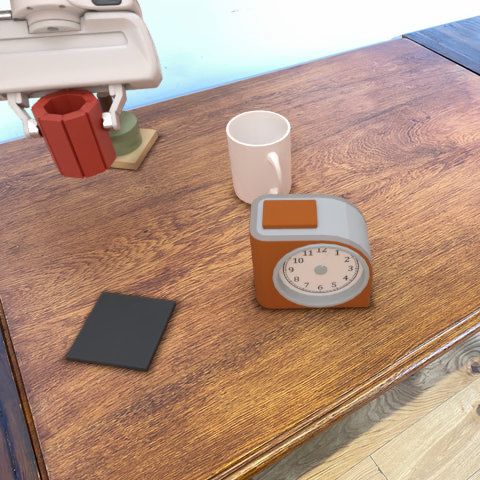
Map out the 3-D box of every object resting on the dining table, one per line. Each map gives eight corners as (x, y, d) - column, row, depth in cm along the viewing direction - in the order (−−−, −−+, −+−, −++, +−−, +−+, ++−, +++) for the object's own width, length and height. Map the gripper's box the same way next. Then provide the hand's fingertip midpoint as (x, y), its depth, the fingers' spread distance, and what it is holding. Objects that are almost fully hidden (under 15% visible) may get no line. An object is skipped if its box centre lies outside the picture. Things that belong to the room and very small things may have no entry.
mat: (66, 359, 61) (65, 357, 61) (103, 294, 68) (102, 291, 68) (147, 371, 60) (146, 368, 60) (176, 304, 67) (175, 301, 67)
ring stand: (80, 163, 87) (58, 106, 79) (106, 131, 94) (88, 75, 86) (137, 170, 86) (120, 113, 79) (158, 136, 93) (145, 81, 86)
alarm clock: (255, 311, 66) (246, 238, 57) (258, 262, 72) (251, 189, 63) (368, 309, 67) (379, 236, 57) (362, 260, 73) (371, 187, 63)
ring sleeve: (46, 175, 58) (20, 117, 53) (73, 142, 62) (51, 86, 57) (100, 180, 57) (79, 123, 52) (123, 147, 62) (106, 91, 56)
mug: (267, 163, 88) (263, 103, 80) (314, 197, 82) (315, 136, 74) (222, 187, 84) (213, 125, 75) (268, 225, 78) (264, 163, 69)
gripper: (-64, 0, 51) (-44, 137, 52) (146, -12, 55) (164, 118, 55) (-31, 26, 58) (-14, 148, 58) (155, 14, 61) (171, 130, 61)
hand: (74, 133), depth 56 cm, fingers closed on ring sleeve, 7 cm apart
